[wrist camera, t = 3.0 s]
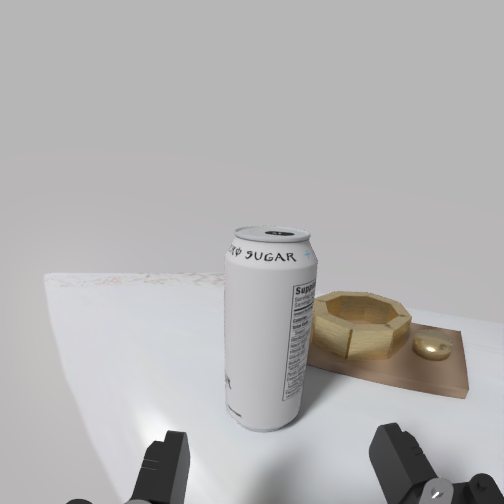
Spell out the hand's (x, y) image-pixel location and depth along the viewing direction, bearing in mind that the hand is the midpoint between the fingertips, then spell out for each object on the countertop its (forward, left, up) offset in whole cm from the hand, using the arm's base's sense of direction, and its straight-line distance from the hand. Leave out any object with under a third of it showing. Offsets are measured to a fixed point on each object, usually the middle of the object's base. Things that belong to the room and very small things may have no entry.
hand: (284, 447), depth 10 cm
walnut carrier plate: (-10, -23, -8) cm, 26 cm away
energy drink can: (+2, -11, -8) cm, 14 cm away
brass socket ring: (-11, -23, -7) cm, 27 cm away
